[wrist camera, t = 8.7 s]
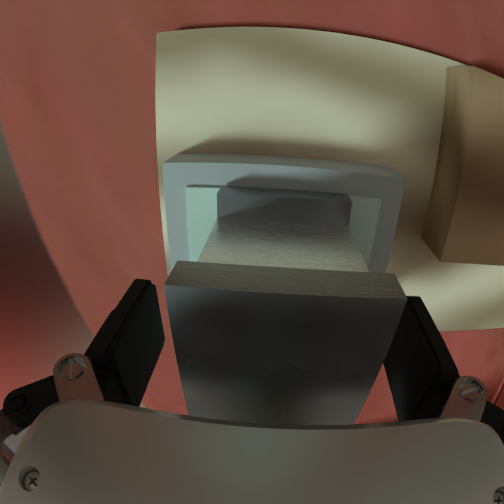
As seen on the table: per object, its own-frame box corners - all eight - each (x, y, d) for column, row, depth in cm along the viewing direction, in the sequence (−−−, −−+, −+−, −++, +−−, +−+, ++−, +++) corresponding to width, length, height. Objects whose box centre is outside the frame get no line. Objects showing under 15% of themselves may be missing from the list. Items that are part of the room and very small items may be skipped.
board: (163, 36, 12) (156, 32, 11) (558, 113, 11) (568, 115, 10) (178, 310, 20) (174, 320, 19) (500, 319, 18) (506, 327, 17)
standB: (176, 153, 14) (160, 163, 12) (390, 167, 13) (407, 179, 12) (189, 321, 19) (180, 346, 17) (354, 332, 18) (360, 358, 16)
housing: (221, 185, 12) (163, 284, 6) (347, 193, 12) (407, 299, 6) (224, 337, 16) (199, 456, 10) (320, 343, 16) (331, 463, 10)
